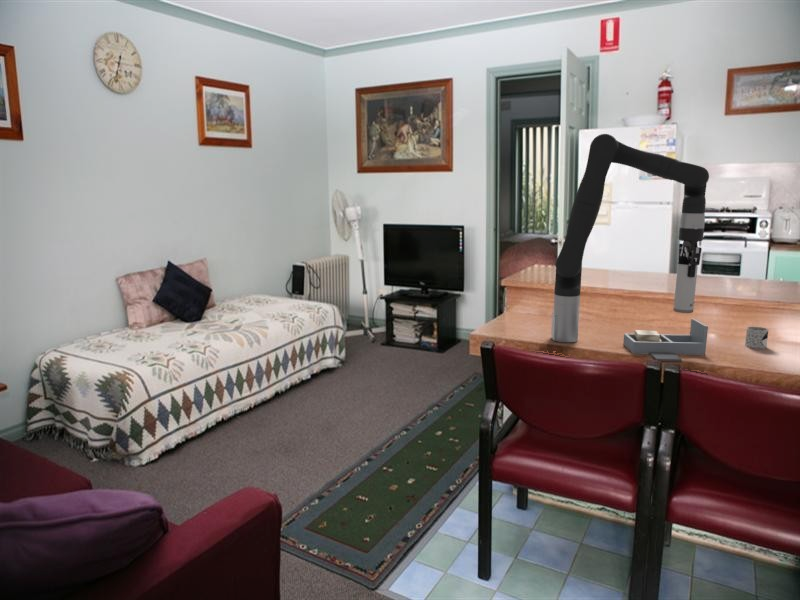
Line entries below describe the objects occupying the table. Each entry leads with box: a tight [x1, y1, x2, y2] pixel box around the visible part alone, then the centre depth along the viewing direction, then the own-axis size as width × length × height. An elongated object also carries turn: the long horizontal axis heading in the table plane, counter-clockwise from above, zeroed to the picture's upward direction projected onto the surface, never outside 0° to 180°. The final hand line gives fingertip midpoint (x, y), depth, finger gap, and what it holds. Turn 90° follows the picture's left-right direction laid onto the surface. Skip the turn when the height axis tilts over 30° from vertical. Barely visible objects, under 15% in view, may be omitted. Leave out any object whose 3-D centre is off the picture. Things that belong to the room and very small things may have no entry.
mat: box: [648, 352, 683, 363], centre depth 203 cm, size 8×8×1 cm
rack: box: [622, 318, 709, 356], centre depth 213 cm, size 24×12×10 cm, turn 85°
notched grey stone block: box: [744, 326, 769, 350], centre depth 218 cm, size 10×7×7 cm
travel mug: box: [672, 256, 699, 314], centre depth 209 cm, size 6×7×20 cm
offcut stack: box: [634, 329, 662, 342], centre depth 214 cm, size 8×7×6 cm
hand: (687, 275), depth 208 cm, fingers closed on travel mug, 6 cm apart
